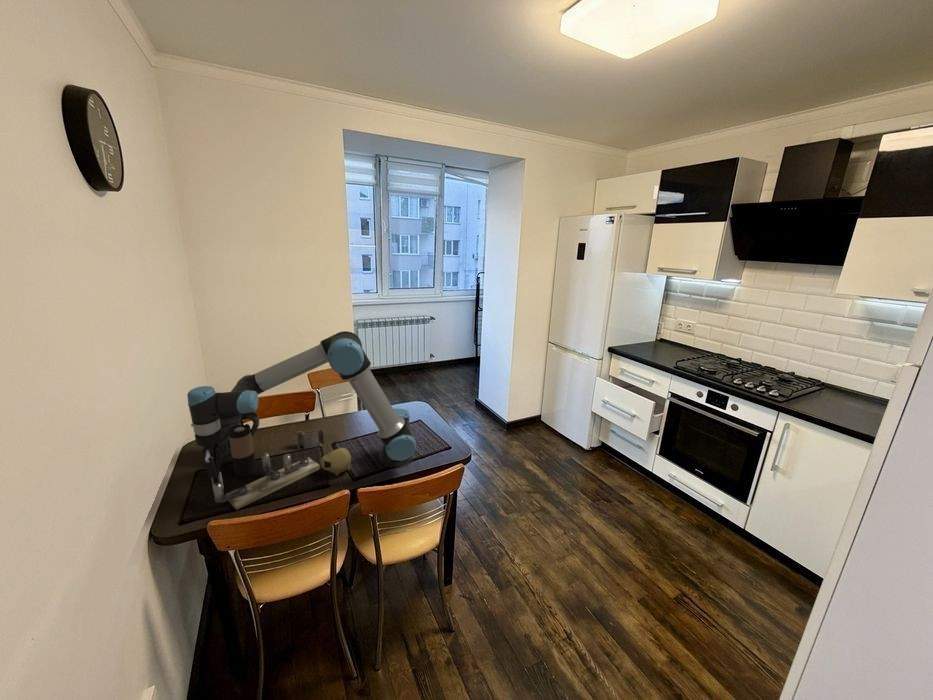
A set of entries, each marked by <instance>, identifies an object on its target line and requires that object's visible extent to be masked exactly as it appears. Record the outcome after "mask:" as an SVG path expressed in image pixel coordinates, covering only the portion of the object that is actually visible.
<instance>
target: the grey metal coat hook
mask: <svg viewBox="0 0 933 700" xmlns="http://www.w3.org/2000/svg"><path fill="white" fill-rule="evenodd" d="M211 486H212V492H213V496H214V501H215V503H220V504H223V503H225V502H227V501H228V500H230V499H233V498H235V497H237V496H243V495H245V494H247V492H248V491H247V486H245V485H240V486H238V487H237V488H236V489H237V491H235V492H233V493H230V494H228V495H226V494H225V493H224V492H225V491H224V488H223V486H224V485H223V486H222V482H216V483H214V484H212V485H211ZM228 502H229V501H228Z"/></svg>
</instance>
